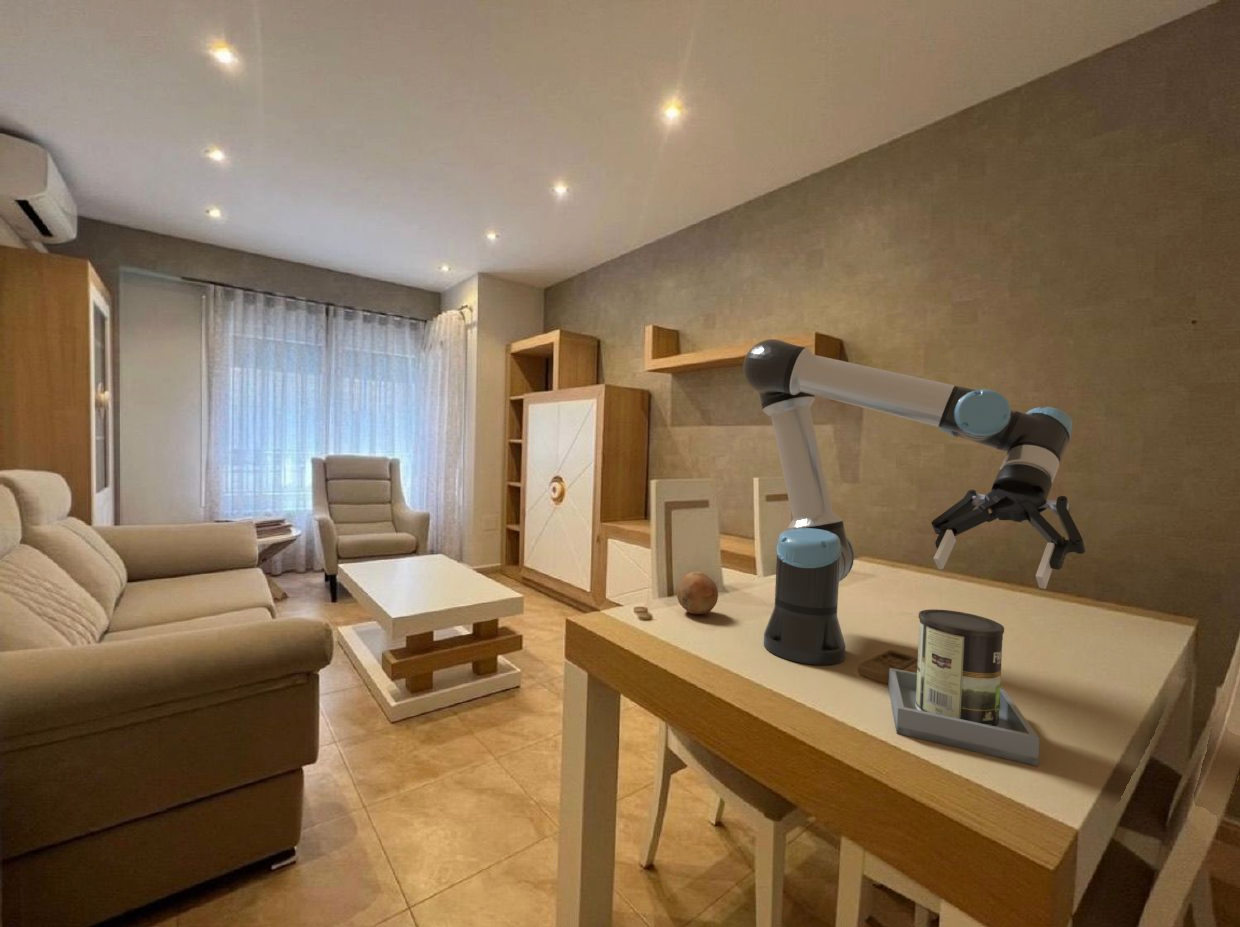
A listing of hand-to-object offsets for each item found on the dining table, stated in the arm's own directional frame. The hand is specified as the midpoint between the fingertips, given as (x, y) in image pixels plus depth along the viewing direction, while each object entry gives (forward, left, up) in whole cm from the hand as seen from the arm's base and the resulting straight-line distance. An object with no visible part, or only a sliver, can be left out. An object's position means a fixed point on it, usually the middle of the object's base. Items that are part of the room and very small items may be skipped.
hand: (985, 572), depth 79 cm
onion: (-52, +23, -21) cm, 61 cm away
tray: (-5, -8, -21) cm, 23 cm away
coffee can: (-4, -8, -20) cm, 22 cm away
